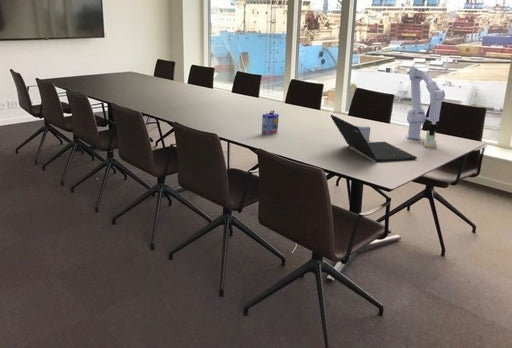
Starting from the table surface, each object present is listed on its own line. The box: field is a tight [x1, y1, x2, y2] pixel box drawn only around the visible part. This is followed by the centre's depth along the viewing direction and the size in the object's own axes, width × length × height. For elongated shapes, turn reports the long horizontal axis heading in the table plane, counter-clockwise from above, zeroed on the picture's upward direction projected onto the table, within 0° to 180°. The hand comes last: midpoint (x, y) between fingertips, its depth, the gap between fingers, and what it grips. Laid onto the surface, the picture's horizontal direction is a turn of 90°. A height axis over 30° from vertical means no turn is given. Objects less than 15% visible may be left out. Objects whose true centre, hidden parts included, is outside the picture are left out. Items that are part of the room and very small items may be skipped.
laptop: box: [330, 114, 418, 162], centre depth 260 cm, size 33×38×19 cm
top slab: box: [422, 137, 438, 145], centre depth 280 cm, size 6×6×2 cm
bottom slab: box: [422, 141, 437, 149], centre depth 281 cm, size 7×7×2 cm
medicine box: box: [355, 125, 371, 142], centre depth 287 cm, size 8×4×9 cm, turn 92°
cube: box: [425, 130, 437, 141], centre depth 279 cm, size 4×4×4 cm
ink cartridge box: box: [261, 110, 280, 136], centre depth 295 cm, size 10×6×14 cm, turn 137°
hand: (431, 133), depth 279 cm, fingers open, 7 cm apart
